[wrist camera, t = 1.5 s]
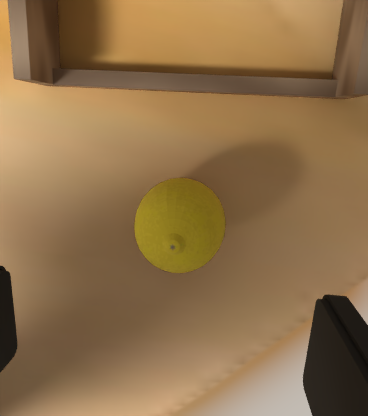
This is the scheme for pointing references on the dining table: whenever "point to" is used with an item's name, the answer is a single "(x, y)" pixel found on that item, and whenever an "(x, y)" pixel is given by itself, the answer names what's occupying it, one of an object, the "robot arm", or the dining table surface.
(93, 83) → the box
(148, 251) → the lemon
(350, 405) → the robot arm
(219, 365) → the dining table surface
